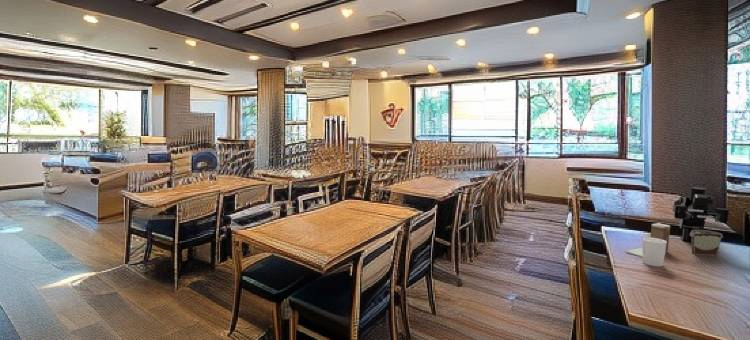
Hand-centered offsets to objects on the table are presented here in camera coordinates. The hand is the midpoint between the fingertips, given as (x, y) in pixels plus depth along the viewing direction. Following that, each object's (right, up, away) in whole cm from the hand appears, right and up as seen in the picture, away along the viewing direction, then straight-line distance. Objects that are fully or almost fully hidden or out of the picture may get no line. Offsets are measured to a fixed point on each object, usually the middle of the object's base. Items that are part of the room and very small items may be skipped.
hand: (704, 218), depth 166 cm
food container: (+2, -16, +5) cm, 17 cm away
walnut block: (-15, -16, +7) cm, 23 cm away
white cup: (-30, -18, -10) cm, 36 cm away
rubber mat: (-24, -16, +3) cm, 29 cm away
